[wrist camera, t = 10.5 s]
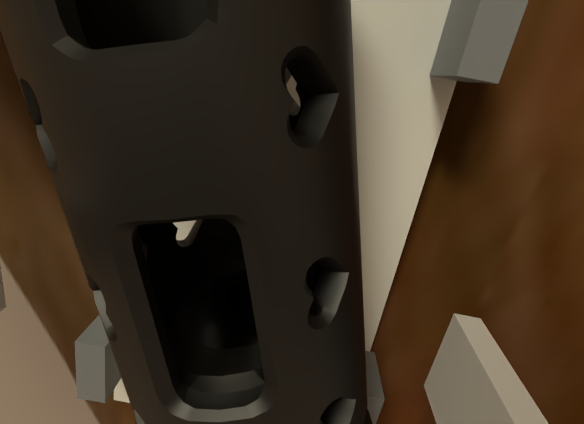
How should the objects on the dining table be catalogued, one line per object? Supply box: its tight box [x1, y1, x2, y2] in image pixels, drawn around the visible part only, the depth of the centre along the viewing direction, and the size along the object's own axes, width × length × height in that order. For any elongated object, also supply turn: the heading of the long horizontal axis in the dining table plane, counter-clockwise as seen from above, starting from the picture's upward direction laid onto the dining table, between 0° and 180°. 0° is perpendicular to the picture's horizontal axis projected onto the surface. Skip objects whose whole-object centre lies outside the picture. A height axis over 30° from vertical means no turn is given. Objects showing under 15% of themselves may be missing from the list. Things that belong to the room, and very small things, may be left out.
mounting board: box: [75, 0, 528, 424], centre depth 19 cm, size 32×17×5 cm, turn 170°
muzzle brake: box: [0, 0, 372, 424], centre depth 14 cm, size 10×28×10 cm, turn 6°
